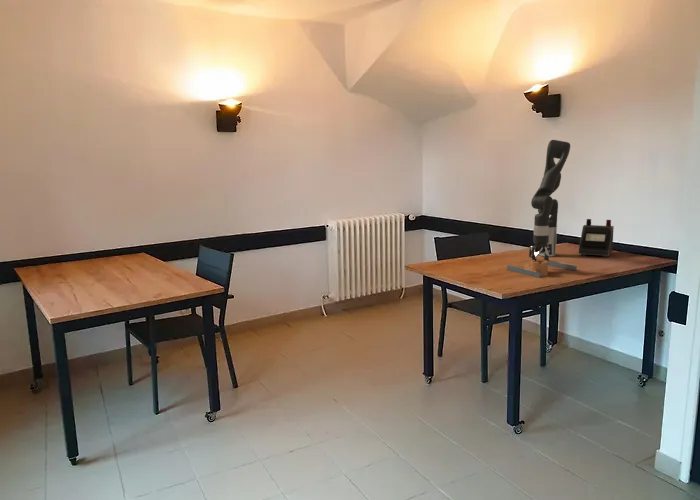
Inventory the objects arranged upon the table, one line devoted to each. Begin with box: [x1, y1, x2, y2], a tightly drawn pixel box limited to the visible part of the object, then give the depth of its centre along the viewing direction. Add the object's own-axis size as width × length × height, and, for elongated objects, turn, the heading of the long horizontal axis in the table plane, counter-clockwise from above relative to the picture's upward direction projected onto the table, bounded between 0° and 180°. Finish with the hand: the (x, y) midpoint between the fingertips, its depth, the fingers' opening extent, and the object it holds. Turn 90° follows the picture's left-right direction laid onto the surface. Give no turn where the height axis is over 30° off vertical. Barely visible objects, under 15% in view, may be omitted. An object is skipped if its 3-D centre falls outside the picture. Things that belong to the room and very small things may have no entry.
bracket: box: [523, 259, 549, 277], centre depth 285 cm, size 18×8×7 cm, turn 1°
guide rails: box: [506, 258, 578, 278], centre depth 289 cm, size 22×27×3 cm
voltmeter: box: [578, 218, 614, 259], centre depth 323 cm, size 16×16×20 cm
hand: (540, 264), depth 290 cm, fingers open, 8 cm apart
